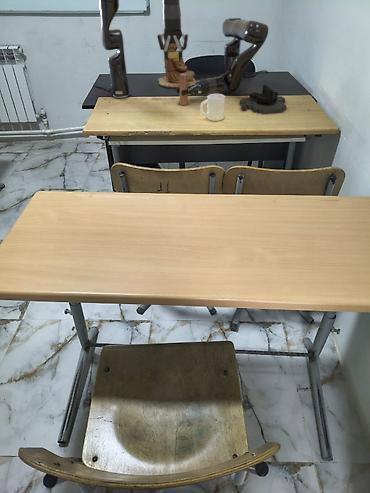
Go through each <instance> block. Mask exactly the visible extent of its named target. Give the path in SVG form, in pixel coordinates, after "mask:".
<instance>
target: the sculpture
mask: <svg viewBox="0 0 370 493" xmlns="http://www.w3.org/2000/svg"><path fill="white" fill-rule="evenodd" d="M163 40H164V42H163V45H164V47H165V45H166V39H165V38H164V37H163ZM177 50H178V47H177V44H174V43H172V44H169V47H168V53H169V52H177ZM163 61H164V71H165V73H164V75H165V76H163V77H159V78H158V79H157V80H158V84H159V86H161V87H163V88H168V89H169V88H176V89H177V88H179V77H180V74H182V73H185V74H187V77H188V83H190V85H192V84H196V83H197V81H198V80H197V79H195V76H196V74H195V72H194V71H192V70H188V66H187V65H186V64H185V60H184V58H183V57H182V59H181V61H179V57H178V58H169V60H166V59H165V52H164V51H163Z"/></svg>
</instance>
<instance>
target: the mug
mask: <svg viewBox="0 0 370 493" xmlns="http://www.w3.org/2000/svg"><path fill="white" fill-rule="evenodd" d="M206 98H207V99H204V100H203V101H202V102H201V103H200V104H199V111H200V113H201V115H203V116H206V118H207V119H208V120H209V121H213V122H218V121H222V120H223V119H224V118H225V103H226V102H225V101H226V96H225V94H222V93H209V94H207V96H206ZM204 105H206V106H207V107H206V112H205V111H204V108H203V107H204Z"/></svg>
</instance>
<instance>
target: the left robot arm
mask: <svg viewBox="0 0 370 493" xmlns="http://www.w3.org/2000/svg"><path fill="white" fill-rule="evenodd" d="M98 2H99V10H100V11H99V12H100V22H101V25H100V26H101V43H102V47H103V49H104V50H105V51H116V52H115V53H114V54H112V55H110V56H109V57H108V58H107V64H108V70H109V75H110V88H109V89H108V88H106V87H104V86H99V85H97V84H96V83H95V82H94V83H93V84H92V86H94V87H96V88H99V89H104V90H105V91H107V92H110V91H112V97H113V98H114V99H125V98H128V97H130V90H129V89H130V88H129V82H128V81H129V79H128V74H127V66H126V65H127V64H126V56H125V45H124V36H123V32H122V30H121V29H119V28H116V29H110V28H111V24H112V21H114V18H115V17H116V15H117V13H118V11H119V8H120V0H98ZM180 4H181V2H180V0H162V19H163V33H159V34H158V35H157V36H156V37H157V40H158V45H159V49H160V50H161V51H163V53H164V52H165V59H166V60H169V58H168V47H169V44H172V43H174V44H177V47H178V48H177V50H178V52H179V61H181V59H182V58H183V51H185V50H186V49H187V46H188V41H189V34H188V33H183V32H182V12H181V5H180ZM164 38H165V39H166V45H165V47H164V42H163V40H164ZM181 38H182V40H183V46H182V42H181V41H180V40H181Z"/></svg>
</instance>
